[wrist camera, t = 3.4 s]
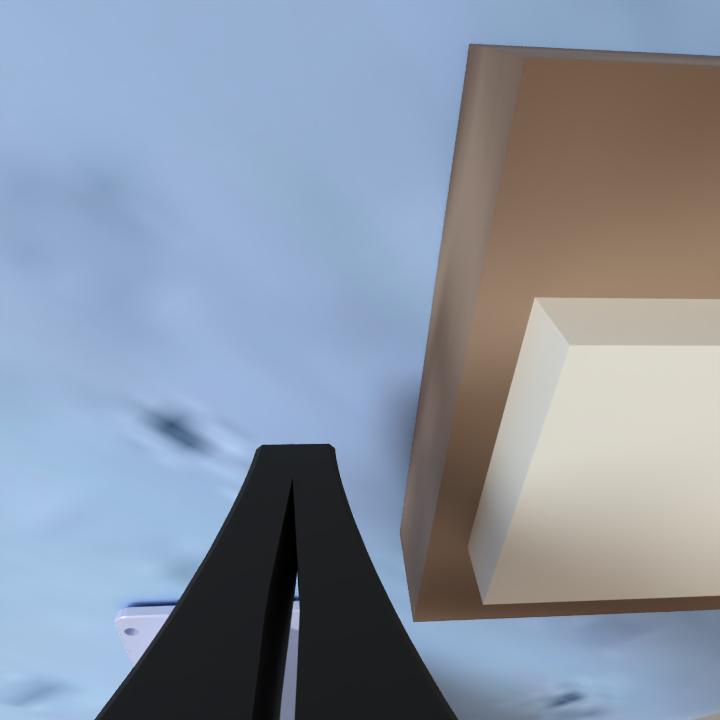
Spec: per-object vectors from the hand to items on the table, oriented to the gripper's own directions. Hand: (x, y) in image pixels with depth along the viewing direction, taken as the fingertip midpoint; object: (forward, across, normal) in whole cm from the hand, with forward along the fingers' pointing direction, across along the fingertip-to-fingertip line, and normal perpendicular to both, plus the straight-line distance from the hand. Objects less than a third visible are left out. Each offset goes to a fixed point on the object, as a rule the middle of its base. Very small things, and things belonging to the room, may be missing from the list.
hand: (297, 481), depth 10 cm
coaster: (+1, -8, 0) cm, 8 cm away
